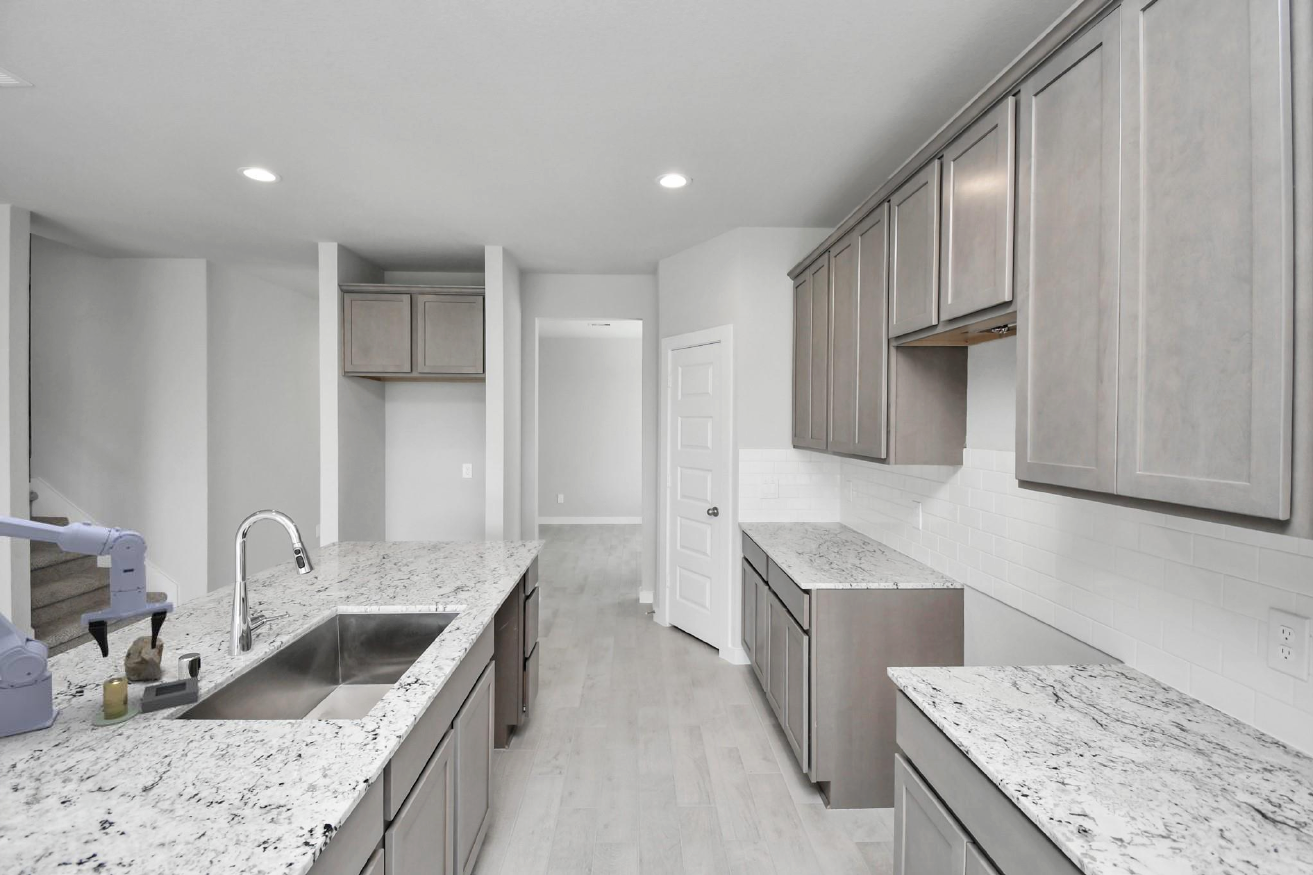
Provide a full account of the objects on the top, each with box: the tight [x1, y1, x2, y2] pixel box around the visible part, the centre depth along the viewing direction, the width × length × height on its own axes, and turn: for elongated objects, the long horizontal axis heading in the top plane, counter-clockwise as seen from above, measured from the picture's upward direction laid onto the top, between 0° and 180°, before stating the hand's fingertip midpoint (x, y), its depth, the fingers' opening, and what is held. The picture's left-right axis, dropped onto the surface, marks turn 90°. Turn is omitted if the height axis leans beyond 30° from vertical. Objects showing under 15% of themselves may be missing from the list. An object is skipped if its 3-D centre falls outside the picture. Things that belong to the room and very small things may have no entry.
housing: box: [140, 676, 199, 715], centre depth 127 cm, size 9×9×2 cm
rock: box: [123, 635, 164, 681], centre depth 139 cm, size 12×7×10 cm, turn 41°
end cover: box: [102, 676, 129, 720], centre depth 119 cm, size 4×4×7 cm
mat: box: [91, 706, 140, 727], centre depth 119 cm, size 7×7×1 cm
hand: (130, 651), depth 127 cm, fingers open, 7 cm apart
